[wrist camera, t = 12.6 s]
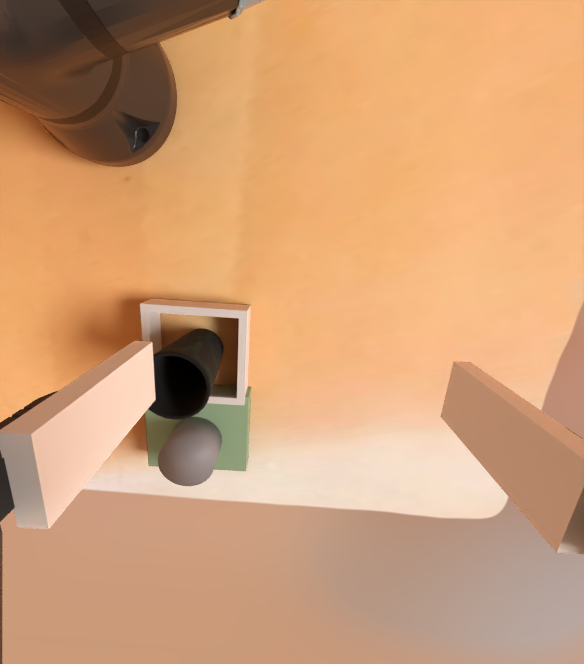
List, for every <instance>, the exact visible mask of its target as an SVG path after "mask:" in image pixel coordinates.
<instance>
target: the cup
mask: <svg viewBox="0 0 584 664" xmlns="http://www.w3.org/2000/svg"><path fill="white" fill-rule="evenodd" d="M222 354H223V344H222V342H221V340H220V338H219V337H218V336H217V335H216V334H215V333H214V332H212V331H210V330H207V329H196V330H193V331H192V332H190V333H188V334H187V335H185V336H183V337H182V338H180V339H178V340H177V341H175V342H173V343H172V344H170V345H168V346H167V347H165V348H163V349H162V350H160V351H159V352H157V353H155V354H154V355H153V363H154V381H155V398H156V400H155V401H154V402H153V403H152V405H151V406H150V407H149V408H148V409H149V410H150V411H151V412H153V413H154V414H156V415H158V416H161V417H163V418H166V419H173V420H180V419H186V418H190V417H192V416H194V415H196V414H198V413H199V412H200V411H201V410H202V409H203V408H204V407H205V405H206V404H207V402H208V400H209V397H210V393H211V390H212V387H213V384H214V380H215V377H216V374H217V370H218V367H219V364H220V360H221V357H222Z"/></svg>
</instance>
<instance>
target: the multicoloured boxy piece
mask: <svg viewBox="0 0 584 664" xmlns="http://www.w3.org/2000/svg"><path fill="white" fill-rule="evenodd" d="M250 307H251V305H241V304H227V303H212V302H198V301H183V300H169V299H154V298H152V299H149V300H147V301H145V302H142V303H140V313H141V328H142V341H146V342H152V345H153V355H154V354H155V353H157V352H159V351H160V350H162V340H161V319H160V313H167V314H182V315H197V316H212V317H227V318H239V333H238V373H237V386H225V385H213V387H212V390H211V393H210V397H209V400H208V402H207V404H206V405H205V407H204V408H203V409H202V410H201V411H200V412H199V413H198V414H196V415H194V416H192V417H190V418H186V419H180V420H173V419H166V418H163V417H161V416H158V415H156V414H154V413H153V412H151V411H150V410H149V409H147V411H146V412H145V419H146V434H147V448H148V463H149V466H159V469H160V471H161V473H162V474H163V475H164V476H165V477H166V478H167V479H168V480H170V481H171V482H173V483H175V484H178V485H182V486H194V485H198V484H201V483H203V482H204V481H206V480H207V479H208V478H209V477H210V476H211V474H212V472H213V469H215V470H234V471H246V468H247V462H248V455H249V429H250V403H251V387H248V363H249V335H250Z"/></svg>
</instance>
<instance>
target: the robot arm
mask: <svg viewBox="0 0 584 664" xmlns="http://www.w3.org/2000/svg"><path fill="white" fill-rule="evenodd" d="M262 1H264V0H0V100H1V101H3V102H6V103H8V104H10V105H12V106H14V107H16V108H19V109H21V110H23V111H25V112H28V113H30V114H32V115H33V116H34V117H35V118H36V119H37V120H38V121H39V122H40V123H42V124H43V126H44V127H45V128H46V129H47V130H48V132H49V133H50V134H51V135H52V136H53V137H54V138H55V139H56V140H57V141H58V142H60V143H61V144H62V145H63V146H65V147H66V148H68V149H69V150H71V151H72V152H74V153H76V154H78V155H79V156H82V157H84V158H86V159H89V160H91V161H94V162H97V163H99V164H103V165H107V166H117V167H121V166H130V165H134V164H137V163H140V162H142V161H144V160H146V159H147V158H149V157H150V156H152V155H153V154H154V153H155V152H156V151H158V149H159V148H160V147H161V146H162V145H163V143H164V142H165V141H166V139H167V137H168V135H169V133H170V131H171V129H172V126H173V123H174V119H175V114H176V107H177V92H176V84H175V78H174V74H173V71H172V68H171V65H170V62H169V60H168V58H167V56H166V54H165V52H164V50H163V48H162V47H161V45H160V43H159V42H162V41H164V40H167V39H170V38H172V37H175V36H178V35H180V34H183V33H186V32H188V31H191V30H194V29H196V28H199V27H202V26H204V25H207V24H210V23H212V22H215V21H218V20H220V19H223V18H226V17H229V18H230V19H233V18H236V17H238V16H239V15H240V14H241V12H242V11H243V10H244V9H246V8H248V7H251V6H253V5H255V4H257V3H260V2H262ZM155 400H156V398H155V381H154V363H153V345H152V342H146V341H133V342H132V343H130V344H129V345H127V346H125V347H124V348H122V349H121V350H119V351H118V352H116V353H115V354H113V355H112V356H110V357H109V358H107V359H106V360H104V361H103V362H101V363H100V364H98V365H97V366H95V367H94V368H92V369H91V370H89V371H88V372H86V373H85V374H83V375H82V376H80V377H79V378H77V379H76V380H74V381H73V382H71V383H70V384H68V385H67V386H65V387H64V388H62V389H61V390H59V391H56V392H53V393H51V394H48V395H46V396H43V397H41V398H38V399H37V400H35V401H33V402H32V403H30V404H29V405H27V406H26V407H24V409H21V410H19V411H18V412H16V413H15V414H13V415H12V417H8V418H7V419H5V420H4V421H2V422H1V423H0V521H1V520H2V519H3V518H4V517H5V516H6V515H7V514H8V513H10V512H11V510H13V509H14V513H15V518H16V522H17V527H18V528H37V529H49V528H50V527H51V526H52V524H53V523H54V522H55V521H56V520H57V519H58V517H59V516H60V515H61V514H62V513H63V511H64V510H65V509H66V508H67V506H68V505H69V504H70V503H71V502H72V500H73V499H74V498H75V497H76V496H77V494H78V493H79V492H80V491H81V489H82V488H83V487H84V486H85V485H86V483H87V482H88V481H89V480H90V479H91V477H92V476H93V475H94V474H95V472H96V471H97V470H98V469H99V468H100V466H101V465H102V464H103V463H104V462H105V460H106V459H107V458H108V457H109V455H110V454H111V453H112V452H113V451H114V449H115V448H116V447H117V446H118V445H119V443H120V442H121V441H122V440H123V439H124V437H125V436H126V435H127V434H128V432H129V431H130V430H131V429H132V428H133V426H134V425H135V424H136V423H137V422H138V420H139V419H140V418H141V417H142V415H143V414H144V413H145V412H146V411H147V409H148V408H149V407H150V406H151V405H152V403H153V402H154V401H155ZM441 417H442V419H443V420H444V421H445V422H446V423H447V424H448V426H449V427H450V428H451V429H452V430H453V432H454V433H455V434H456V435H457V436H458V437H459V439H460V440H461V441H462V442H463V443H464V444H465V446H466V447H467V448H468V449H469V450H470V452H471V453H472V454H473V455H474V456H475V457H476V459H477V460H478V461H479V462H480V463H481V464H482V466H483V467H484V468H485V469H486V470H487V472H488V473H489V474H490V475H491V476H492V477H493V479H494V480H495V481H496V482H497V483H498V484H499V486H500V487H501V488H502V489H503V490H504V492H505V493H506V494H507V495H508V496H509V497H510V499H511V500H512V501H513V502H514V503H515V504H516V506H517V507H518V508H519V509H520V510H521V512H522V513H523V514H524V515H525V516H526V517H527V518H528V520H529V521H530V522H531V523H532V524H533V526H534V527H535V528H536V529H537V530H538V532H539V533H540V534H541V535H542V536H543V537H544V538H545V540H546V541H547V542H548V543H549V544H550V546H551V547H552V548H553V549H554V550H555V552H556V553H571V554H584V440H583V439H582V438H581V437H579V436H578V435H577V434H575V433H574V432H572V431H571V430H569V429H567V428H566V427H564V426H563V425H561V424H560V423H558V422H557V421H555V420H554V419H552V418H551V417H549V416H548V415H546V414H545V413H544V412H542V411H541V410H539V409H538V408H536V407H535V406H533V405H532V404H530V403H529V402H528V401H526V400H525V399H523V398H522V397H520V396H519V395H517V394H516V393H514V392H513V391H512V390H510V389H509V388H507V387H506V386H504V385H503V384H501V383H500V382H498V381H497V380H495V379H494V378H493V377H491V376H490V375H488V374H487V373H485V372H484V371H482V370H481V369H479V368H478V367H477V366H475V365H474V364H472V363H471V362H455V361H454V362H453V366H452V370H451V375H450V379H449V383H448V387H447V392H446V396H445V400H444V405H443V409H442V413H441ZM0 664H2V530H1V526H0Z"/></svg>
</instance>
